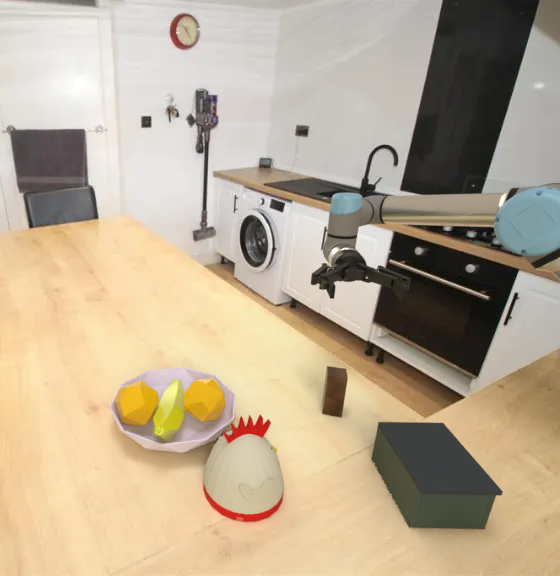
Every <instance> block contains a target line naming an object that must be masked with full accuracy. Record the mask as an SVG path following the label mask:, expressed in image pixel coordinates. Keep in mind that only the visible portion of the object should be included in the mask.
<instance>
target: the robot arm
mask: <svg viewBox="0 0 560 576" xmlns="http://www.w3.org/2000/svg"><path fill="white" fill-rule="evenodd" d="M330 201H331V202H330V206H329V212H328V213H329V214H328V224H327V234H326V239H325V241H324V243H323V245H322V254H323V258H324V259H325V261H327V262H322V263H321V266H320V267H318V268H317V269H316V270H314V271H313V272H312V273H311V278H310V285H311V286H316V285H319V286H318V290H322V291H323V290H324V291H325V290H326V292H327V295H328V297H329V299H333V300H335V295H336V287H337V286H336V284H335V283H336V282H339V283H340V282H343V283H344V282H345V283H352V282H356V281H357V282H359V281H360V282H363V283H366V284H370V283H373V284H376V285H380V286H383V287H385V288H388V289H391V292H392V293H393V294H394V295H395V297H396V298H397V299H398V300H399V301H400V302H401V303H407V300H408V294H409V290H410V285H411V280H412V278H411V277H408V276H406V275H403V274H401V273H399V272H395V271H393V270H391V269H388V268H386V267H385V266H383V265H377V268H375V267H372V266H369V265H368V264H367V261H366V259H365V257H364V256H363V255H362V254H361V253H360V252H359V250H357V249H356V246H357V240H358V233H359V228H360V227H363V226H367V225H406V226H407V225H408V226H439V227H441V226H442V227H471V228H472V227H473V228H475V227H476V228H493V230H494V234H495V237H496V239H497V240H498V242H499V243H500V244H501V245H502V246H503V247H504V248H505V249H506V250H507V251H510V252H512V253H514V254H517V255H520V256H522V257H523V258H524V259H525V260H526V261H527V262H528V263H529V264H530V265H531V266H532V267H533V268H534V270H536V271H539V272H540V271H541V272H548V273H551V274H553V275H554V276H555V278H556V279H557V280H558V281H559V282H560V182H551V183H546V184H540V185H534V186H523V187H510V188H508V189H507V190H506V191H505V192H487V193H486V192H484V193H483V192H482V193H448V194H447V193H446V194H445V193H444V194H413V195H411V194H409V195H407V194H405V195H381V194H380V195H379V194H373V195H372V194H371V195H367V196H365V197H363V195H361V193H358V192H357V193H356V192H337V193H336V192H335V193H334V194H333V195H332V197H331V200H330Z"/></svg>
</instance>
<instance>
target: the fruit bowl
mask: <svg viewBox="0 0 560 576" xmlns="http://www.w3.org/2000/svg"><path fill="white" fill-rule="evenodd" d="M108 408H109V410H110V412H111V414H112V416H113V418H114V421H115V422H116V424H117V427H118V428H119V431H120V432H122V433H124V435H126V436H127V437H129V438H130V439H131V440H133V441H134V442H136V443H137V444H139V446H141V447H142V448H144V449H145V450H152V451H161V452H172V453H179V454H184V453H187V452H189V451H192V450H194V449H197V448H199V447H202V446H206V445H208V444H210V443H214V442H215V441H216V440H218V438H219V437H220V436H221V435H222V434H223V431H222V430H224V431H225V430H226V429H227V428H228V427H229V426H230V425H231V423H232V422H233V421H234V420H235V411H236V393H235V392H234V391H233V390H232V389H231V388H230V387H229V386H228V385H227V384H225V383H224V382H223V381H222V380H221V379H220V378H219V377H217V375H216V374H211V373H209V372H204V371H200V370H197V369H193V368H189V367H186V366H185V367H184V366H180V367H179V366H178V367H169V368H157V369H156V368H155V369H148V370H146V371H143V372H142V373H140V374H138V375H136V376H135V377H132V378H130V379H128V380H126V381H125V382H124V381H123V383H120V385H119V387H118V388H117V390H116V393H115V394H114V397H113V398H112V401H111V402H110V405H109V406H108Z"/></svg>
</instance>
